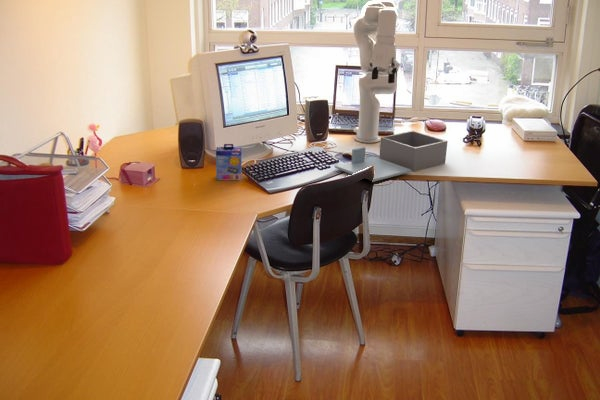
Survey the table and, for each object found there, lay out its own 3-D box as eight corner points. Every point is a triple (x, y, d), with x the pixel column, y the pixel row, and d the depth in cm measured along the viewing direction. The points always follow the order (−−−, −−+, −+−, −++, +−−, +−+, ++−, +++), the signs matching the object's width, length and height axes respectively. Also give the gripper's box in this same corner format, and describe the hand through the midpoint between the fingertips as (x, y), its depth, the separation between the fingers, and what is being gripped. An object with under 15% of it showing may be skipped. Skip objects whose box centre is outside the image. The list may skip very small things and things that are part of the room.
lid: (334, 170, 274) (335, 151, 271) (372, 161, 287) (373, 142, 284) (371, 184, 258) (373, 164, 255) (410, 174, 271) (412, 155, 268)
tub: (379, 159, 290) (380, 137, 286) (410, 152, 301) (412, 130, 298) (413, 171, 275) (415, 148, 271) (445, 163, 287) (447, 140, 283)
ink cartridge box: (216, 180, 259) (215, 144, 254) (216, 176, 264) (215, 140, 259) (241, 180, 260) (241, 144, 254) (241, 175, 265) (241, 140, 260)
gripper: (364, 38, 280) (362, 78, 286) (394, 43, 268) (391, 85, 274) (377, 36, 285) (374, 76, 291) (407, 41, 272) (403, 83, 278)
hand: (382, 81), depth 282 cm, fingers open, 9 cm apart
